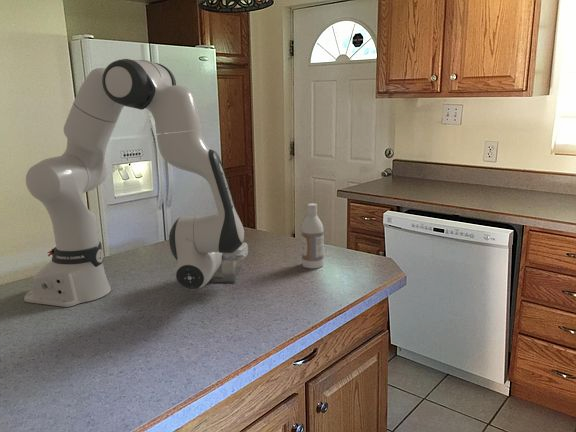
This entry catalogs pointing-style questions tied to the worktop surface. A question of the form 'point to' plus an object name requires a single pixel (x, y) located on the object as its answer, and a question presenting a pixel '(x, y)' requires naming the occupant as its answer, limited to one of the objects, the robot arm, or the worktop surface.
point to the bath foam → (312, 239)
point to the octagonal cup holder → (227, 272)
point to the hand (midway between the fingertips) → (218, 242)
